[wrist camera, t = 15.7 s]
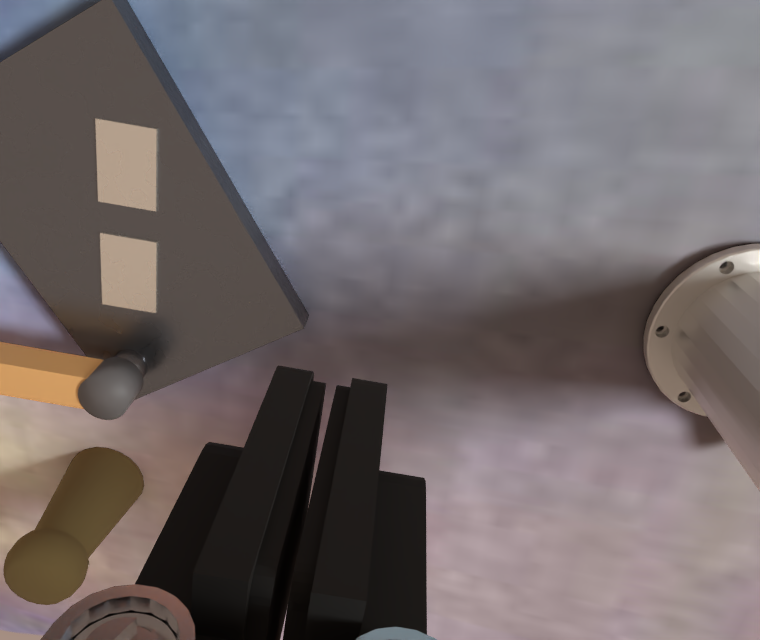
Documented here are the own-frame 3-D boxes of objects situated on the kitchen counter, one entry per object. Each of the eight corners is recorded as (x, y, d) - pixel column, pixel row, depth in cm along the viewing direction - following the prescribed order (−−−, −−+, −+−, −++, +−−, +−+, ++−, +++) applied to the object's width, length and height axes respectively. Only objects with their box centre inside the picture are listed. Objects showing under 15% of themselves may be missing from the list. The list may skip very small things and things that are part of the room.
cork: (54, 460, 52) (-33, 566, 42) (116, 437, 50) (42, 542, 41) (97, 514, 54) (24, 628, 44) (158, 494, 53) (96, 606, 43)
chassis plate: (308, 315, 45) (300, 338, 42) (134, 389, 48) (113, 416, 45) (124, -4, 37) (96, -6, 34) (-69, 113, 40) (-111, 122, 37)
